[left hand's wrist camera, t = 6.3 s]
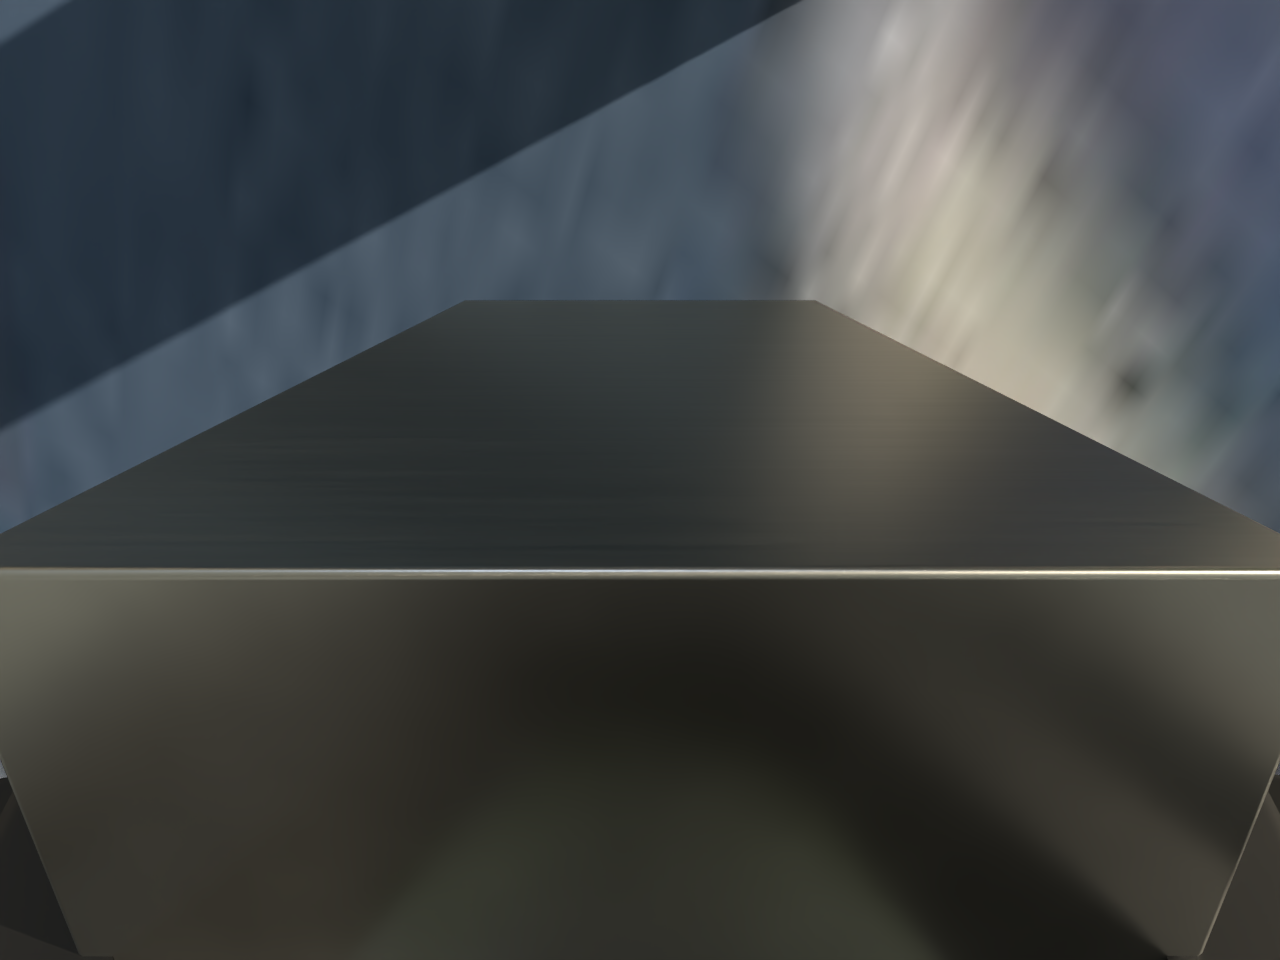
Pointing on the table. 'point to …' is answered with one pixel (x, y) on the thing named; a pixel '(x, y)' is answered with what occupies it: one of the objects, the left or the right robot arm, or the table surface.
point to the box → (640, 662)
